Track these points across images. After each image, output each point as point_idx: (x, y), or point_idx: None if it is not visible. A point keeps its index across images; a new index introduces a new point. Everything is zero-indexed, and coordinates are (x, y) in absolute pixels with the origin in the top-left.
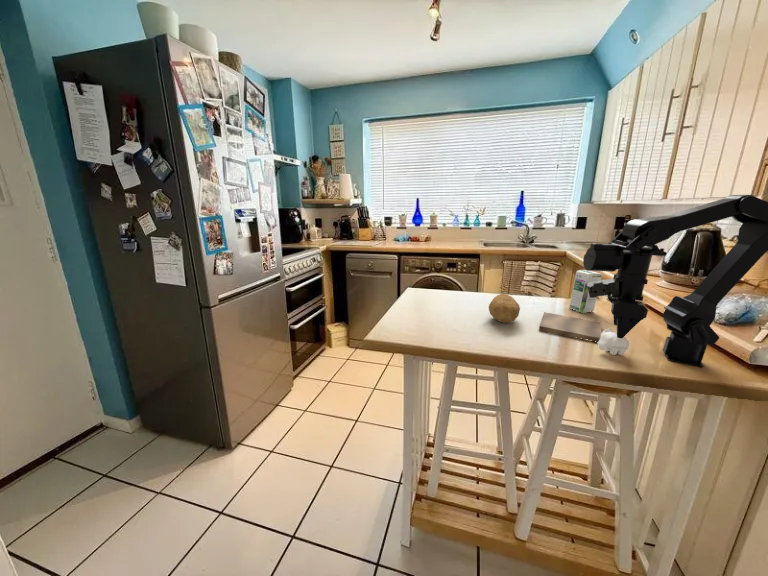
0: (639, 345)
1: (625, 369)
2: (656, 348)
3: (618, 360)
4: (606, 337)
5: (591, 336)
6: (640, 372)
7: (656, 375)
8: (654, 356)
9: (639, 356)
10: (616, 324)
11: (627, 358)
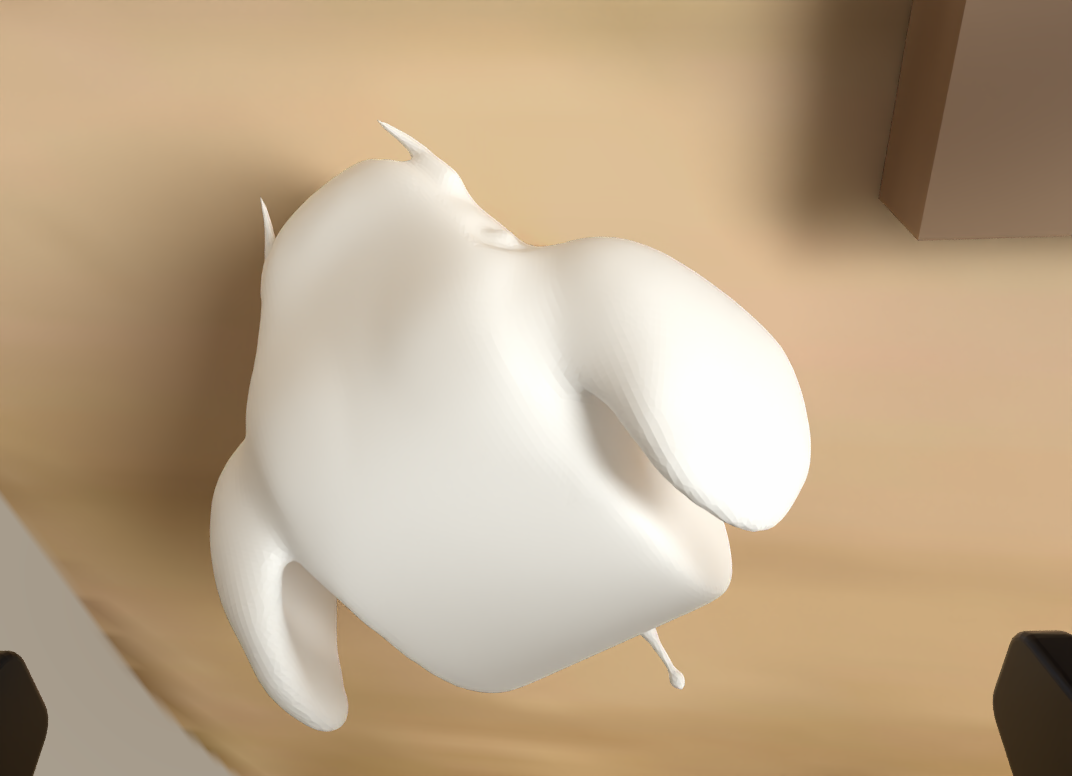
0: None
1: (25, 463)
2: None
3: None
4: (327, 378)
5: (964, 7)
6: (94, 590)
7: (158, 698)
8: (725, 731)
9: None
10: (1013, 689)
11: None
